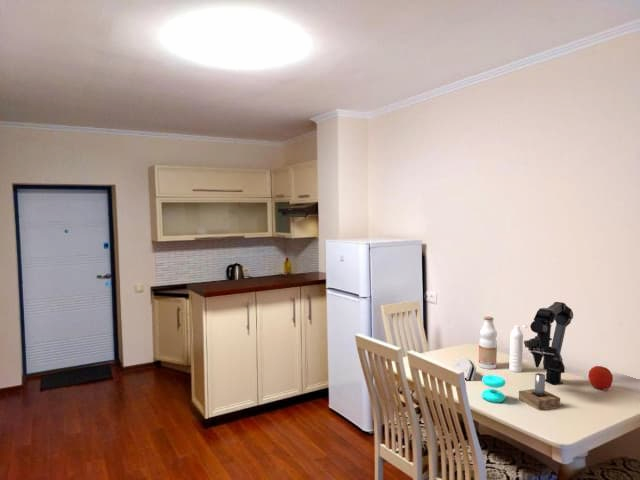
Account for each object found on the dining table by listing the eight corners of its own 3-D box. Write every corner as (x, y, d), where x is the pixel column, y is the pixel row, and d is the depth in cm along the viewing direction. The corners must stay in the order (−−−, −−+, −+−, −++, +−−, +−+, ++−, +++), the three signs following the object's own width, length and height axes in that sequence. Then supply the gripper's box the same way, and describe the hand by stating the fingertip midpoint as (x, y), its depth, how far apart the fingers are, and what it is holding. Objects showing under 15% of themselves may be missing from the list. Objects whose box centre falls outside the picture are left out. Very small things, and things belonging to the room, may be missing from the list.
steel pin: (542, 401, 209) (543, 373, 209) (545, 405, 205) (546, 376, 205) (533, 401, 210) (534, 373, 209) (535, 404, 206) (537, 376, 205)
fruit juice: (484, 370, 252) (486, 319, 250) (475, 364, 261) (476, 315, 259) (499, 368, 254) (501, 319, 252) (489, 363, 263) (491, 315, 261)
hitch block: (539, 396, 215) (539, 388, 215) (560, 406, 204) (560, 398, 204) (518, 399, 212) (518, 390, 211) (538, 410, 200) (538, 401, 200)
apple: (614, 388, 227) (615, 365, 226) (609, 393, 219) (610, 370, 219) (590, 382, 233) (591, 360, 233) (585, 388, 226) (586, 365, 225)
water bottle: (511, 372, 248) (513, 326, 247) (507, 368, 255) (508, 324, 253) (528, 372, 248) (529, 327, 247) (523, 368, 254) (524, 324, 253)
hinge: (451, 370, 251) (458, 353, 251) (459, 372, 251) (465, 355, 251) (463, 381, 234) (470, 363, 234) (471, 384, 235) (478, 366, 234)
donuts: (482, 373, 218) (505, 375, 214) (481, 393, 218) (504, 396, 215) (482, 380, 208) (505, 383, 205) (481, 401, 209) (505, 404, 206)
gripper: (519, 332, 230) (516, 363, 228) (535, 332, 212) (532, 366, 209) (541, 335, 230) (539, 367, 227) (559, 336, 211) (556, 371, 209)
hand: (541, 368), depth 218 cm, fingers open, 9 cm apart
